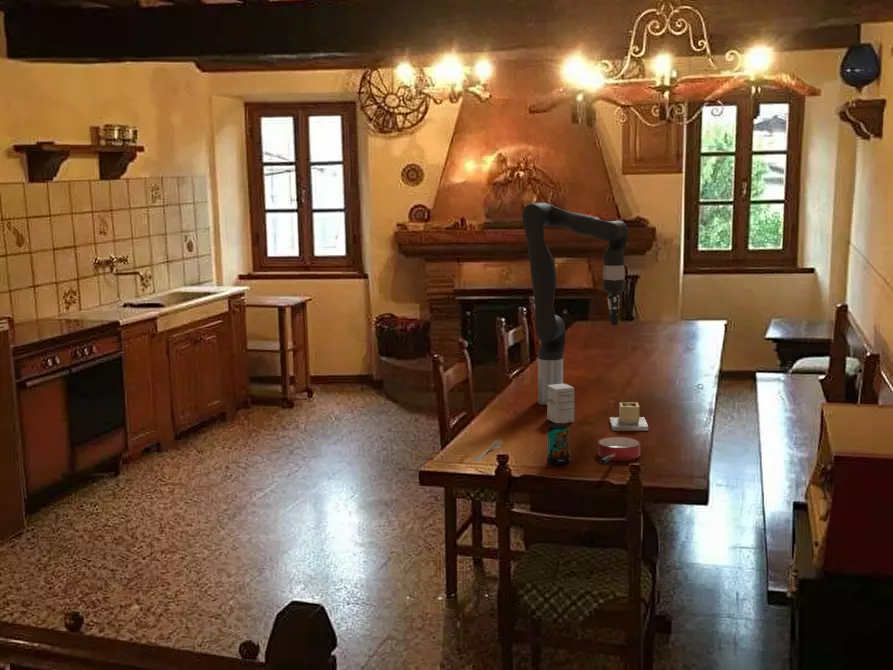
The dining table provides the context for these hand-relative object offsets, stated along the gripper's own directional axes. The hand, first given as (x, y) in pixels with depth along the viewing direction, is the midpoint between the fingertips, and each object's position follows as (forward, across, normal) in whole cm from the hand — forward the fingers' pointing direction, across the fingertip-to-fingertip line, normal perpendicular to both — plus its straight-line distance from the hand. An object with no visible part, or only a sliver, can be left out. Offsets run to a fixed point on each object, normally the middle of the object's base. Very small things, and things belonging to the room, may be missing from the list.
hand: (613, 322), depth 365 cm
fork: (+34, +51, -43) cm, 75 cm away
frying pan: (+33, +61, -3) cm, 70 cm away
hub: (+30, +18, +4) cm, 36 cm away
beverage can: (+33, +61, -21) cm, 73 cm away
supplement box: (+33, +11, -19) cm, 40 cm away
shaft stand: (+33, +18, +4) cm, 38 cm away
